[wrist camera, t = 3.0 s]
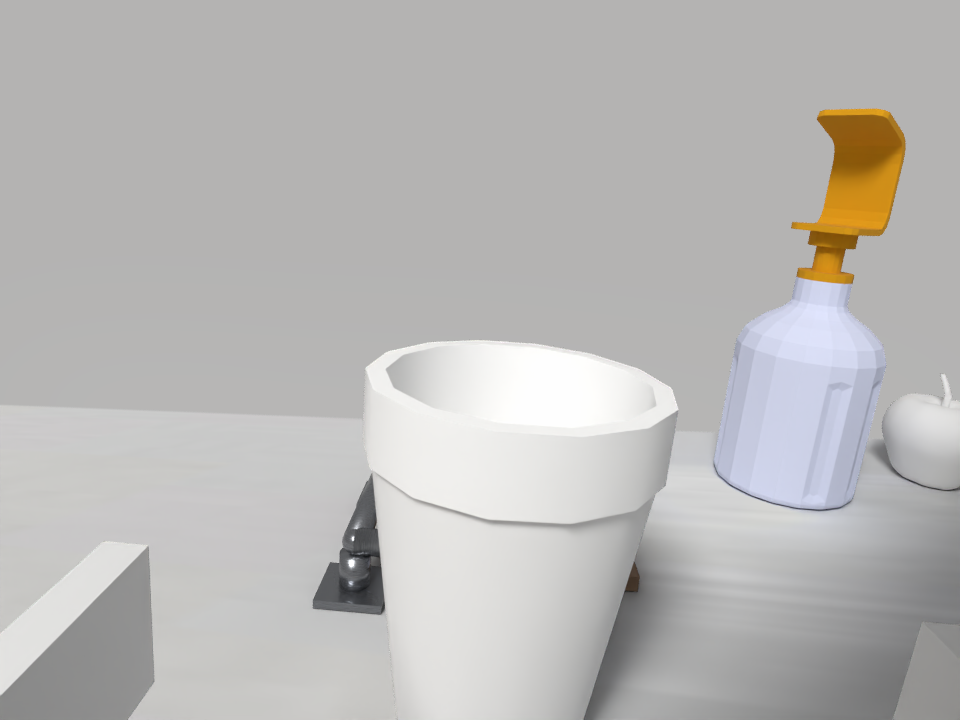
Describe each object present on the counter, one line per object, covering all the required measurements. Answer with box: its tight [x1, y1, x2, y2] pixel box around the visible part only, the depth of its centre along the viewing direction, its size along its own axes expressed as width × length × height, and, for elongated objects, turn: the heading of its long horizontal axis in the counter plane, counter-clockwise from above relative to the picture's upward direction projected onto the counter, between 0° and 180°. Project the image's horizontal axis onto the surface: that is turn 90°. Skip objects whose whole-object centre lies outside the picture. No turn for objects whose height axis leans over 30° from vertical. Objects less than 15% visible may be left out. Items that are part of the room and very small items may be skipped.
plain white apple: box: [882, 374, 960, 490], centre depth 48 cm, size 7×7×8 cm
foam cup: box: [363, 340, 678, 720], centre depth 22 cm, size 10×9×13 cm
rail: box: [313, 474, 385, 614], centre depth 35 cm, size 13×12×3 cm
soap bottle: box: [714, 109, 905, 510], centre depth 44 cm, size 9×9×25 cm
